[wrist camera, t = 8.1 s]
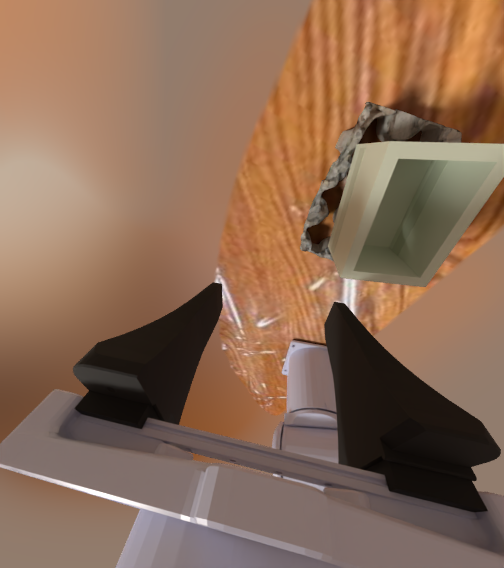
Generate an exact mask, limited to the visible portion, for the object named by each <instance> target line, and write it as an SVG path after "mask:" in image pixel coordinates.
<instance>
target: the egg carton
mask: <svg viewBox="0 0 504 568" xmlns="http://www.w3.org/2000/svg"><path fill="white" fill-rule="evenodd" d="M365 104H366V106H365V108H364V110H363V112H362V113H361V115H360V116H359V118H358V121H357V125H356V126H355V128H353V129H351V130H347V131H343V133H342V134H341V135H340V137H339V140H338V142H337V144H336V147H335V148H336V149H338V150H339V151H340V153H341V154H340V156H339V158H338V159H337V161H336V162H334V163H333V164H332V166H331V168H330V170H329V172H328V174H327V177H326V179H325V180H322V182H321V186H320V189H319V191H318V193H317V195H316V197H315V198H314V200H313V203H312V205H311V208H310V211H309V214H308V217H307V220H306V221H305V224H304V232H303V234H302V236H301V247H300V249H301V250H302V251H309V252H312V253H314V254H316V255H318V256H319V257H323V258H327V259H330V260H332V261H334V260H333V258H332V255H331V253H330V250H329V247H328V244H329V241H330V237H327V238H325V239H323V240H322V241H321V242H320V243H319V244H315V243H312V242H311V238H310V235H309V233H308V231H307V228H308V227H311V226H312V225H317V224H319V223H320V222H321V221H322V220H323V219H324V218H325V217H327V216H328V214H329V210H328V206H327V203H326V201H325V200H324V198H323V197H322V196H321V194H322V193H323V191H324V190H328V189H330V188H333V187H335V186H336V185H337V184H338V182H339V181H341V180H342V179H343V178H344V177H346V173H347V171H348V170H349V169H350V166H351V163H352V153H353V152H354V150H355V149H356V145H357V144H359V142H360V140H361V138H362V136H363V134H364V132H365V130H366V129H367V128H368V126H369V125H370V123H371V122H372V121H373V120H374V119H375V118H377V119H378V121H377V126H376V134H377V137H378V139H379V140H381V141H382V142H387V141H401V142H402V141H406V140H408V139H410V138H412V137H413V136H414V135H416V134H417V133H418V132H419V131H422V135H421V138H420V142H444V143H461V132H459V131H458V130H455V129H452V128H449V127H445V126H443V125H440V124H437V123H434V122H431V121H428V120H424V119H421V118H418V117H416V116H414V115H411V114H408V113H406V112H403V111H400V110H396V109H395V111H394V110H392V109H389V108H386V107H383V106H380V105H376V104H373V103H370V102H366V103H365ZM338 209H339V207H338V208H337V209H336V210H335V212H334V214H333V222H334V223H335V219H336V216H337V212H338Z"/></svg>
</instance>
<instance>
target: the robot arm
mask: <svg viewBox="0 0 504 568" xmlns="http://www.w3.org/2000/svg"><path fill="white" fill-rule="evenodd" d="M222 307H223V304H222V284H219V283H212V284H210V285H209V286H208V287H206V288H205V289H204V290H203V291H201V292H200V293H199V294H198V295H196V296H195V297H193V298H192V299H191V300H189V301H188V302H187V303H185V304H184V305H182V306H181V307H179V308H178V309H176V310H174V311H173V312H171V313H169V314H167V315H166V316H164V317H162V318H160V319H158V320H156V321H154V322H152V323H150V324H147V325H145V326H143V327H141V328H138V329H136V330H133V331H131V332H128V333H126V334H123V335H120V336H117V337H114V338H111V339H108V340H105V341H102V342H98V343H97V344H96V345H95V346H94V347H93V348H92V349H91V350H90V351H89V352H88V353H87V354H86V355H85V356H84V357H83V358H82V359H81V360H80V361H79V362H78V363H77V364H76V365H75V366H74V368H73V372H74V375H75V376H76V377H77V378H78V379H79V381H81V383H82V384H83V385H84V386H85V387H86V388H87V389H88V390H89V392H88V393H87V394H86V395H85V396H84V397H83V396H81V395H78V394H75V393H71V392H67V391H63V390H58V389H56V390H53V391H52V392H51V393H50V394H49V395H48V396H47V397H46V398H45V399H44V400H43V402H41V403H40V404H39V405H38V406H37V407H36V408H35V409H34V410H33V412H31V413H30V414H29V415H28V416H27V417H26V418H25V420H23V421H22V423H20V424H19V425H18V426H17V428H15V429H14V431H12V432H11V433H10V434H9V435H8V437H7V438H6V439H5V440H4V441H3V442H2V443H1V444H0V467H1V468H5V469H8V470H11V471H14V472H18V473H21V474H24V475H27V476H31V477H34V478H37V479H41V480H45V481H48V482H51V483H54V484H58V485H61V486H64V487H68V488H71V489H75V490H78V491H81V492H85V493H88V494H91V495H95V496H98V497H101V498H105V499H108V500H111V501H115V502H118V503H121V504H125V505H128V506H132V507H135V508H138V509H140V511H139V513H138V516H137V518H136V520H135V523H134V525H133V528H132V530H131V532H130V535H129V537H128V539H127V542H126V544H125V547H124V549H123V551H122V554H121V556H120V558H119V561H118V563H117V566H116V568H504V496H502V495H498V494H494V493H489V492H478V491H477V490H476V488H475V486H474V484H473V482H472V481H476V476H475V474H474V472H473V470H472V469H471V467H472V466H476V465H479V464H483V463H486V462H490V461H492V460H495V459H497V458H498V457H499V456H500V454H501V449H500V448H499V447H498V445H497V444H496V442H495V441H494V439H493V438H492V436H491V435H490V434H489V432H488V431H487V429H486V428H485V426H484V425H483V423H482V422H481V421H480V420H478V419H477V418H475V417H474V416H472V415H470V414H469V413H468V412H466V411H464V410H463V409H462V408H460V407H459V406H457V405H456V404H454V403H452V402H451V401H449V400H448V399H447V398H445V397H444V396H442V395H441V394H440V393H438V392H437V391H435V390H434V389H433V388H431V387H430V386H428V385H427V384H426V383H424V382H423V381H422V380H420V379H419V378H418V377H417V376H416V375H414V374H413V373H412V372H411V371H409V370H408V369H407V368H406V367H405V366H403V365H402V364H401V363H400V362H399V361H398V360H397V359H395V358H394V357H393V356H392V355H391V354H390V353H389V352H388V351H387V350H386V349H384V347H383V346H382V345H381V344H380V343H379V342H378V341H377V340H376V339H375V338H374V337H373V336H372V335H371V334H370V333H369V332H368V330H367V329H366V328H365V327H364V326H363V325H362V324H361V322H360V321H359V320H358V319H357V318H356V316H355V315H354V314H353V313H352V312H351V310H350V309H349V308H348V307H347V306H346V305H345V304H344V303H338V302H334V304H333V306H332V308H331V311H330V313H329V315H328V317H327V320H326V322H325V324H324V325H325V340H326V345H327V346H324V345H318V344H313V343H307V342H302V341H296V340H292V341H291V343H290V346H289V350H288V353H287V356H286V359H285V363H284V366H283V369H282V374H284V375H287V413H285V418H284V422H280V423H279V424H278V426H277V428H276V429H275V432H274V436H273V444H272V448H271V447H267V446H263V445H259V444H255V443H251V442H246V441H242V440H238V439H234V438H230V437H226V436H222V435H218V434H213V433H209V432H205V431H201V430H197V429H193V428H188V427H185V426H180V425H179V422H180V419H181V415H182V412H183V409H184V405H185V402H186V399H187V396H188V393H189V390H190V386H191V384H192V381H193V378H194V375H195V372H196V369H197V366H198V364H199V361H200V358H201V355H202V353H203V351H204V348H205V346H206V344H207V342H208V340H209V338H210V336H211V334H212V332H213V330H214V328H215V326H216V324H217V321H218V319H219V316H220V313H221V310H222ZM186 451H187V452H186ZM189 452H191V453H195V454H199V455H203V456H207V457H210V458H215V459H218V460H222V461H226V462H230V463H234V464H238V465H242V466H246V467H250V468H254V469H257V470H261V471H265V472H269V473H273V476H272V475H268V474H264V473H261V472H256V471H253V470H249V469H245V468H241V467H237V466H233V465H228V464H222V463H212V464H211V463H205V462H200V461H194V460H193V455H192V454H191V453H189Z"/></svg>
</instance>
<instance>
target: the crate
mask: <svg viewBox="0 0 504 568" xmlns="http://www.w3.org/2000/svg"><path fill="white" fill-rule="evenodd" d="M503 177H504V144H488V143H444V142H401V141H387V142H377V143H366V144H357V145H356V149H355V152H354V156H353V159H352V163H351V166H350V170H349V173H348V177H347V180H346V184H345V187H344V191H343V195H342V198H341V202H340V205H339V209H338V212H337V216H336V219H335V223H334V226H333V230H332V234H331V237H330V241H329V244H328V247H329V250H330V253H331V255H332V258H333V260H334V263H335V265H336V268H337V271H338V273H339V276H340V278H346V279H355V280H364V281H374V282H383V283H392V284H401V285H410V286H420V287H426V286H427V284H428V283H429V282H430V280H431V279H432V277H433V276H434V275H435V273H436V272H437V270H438V269H439V267H440V266H441V265H442V263H443V262H444V260H445V259H446V258H447V256H448V255H449V253H450V252H451V251H452V249H453V248H454V246H455V245H456V244H457V242H458V241H459V239H460V238H461V236H462V235H463V234H464V232H465V231H466V229H467V228H468V227H469V225H470V224H471V222H472V221H473V220H474V218H475V217H476V215H477V214H478V212H479V211H480V210H481V208H482V207H483V205H484V204H485V203H486V201H487V200H488V198H489V197H490V196H491V194H492V193H493V191H494V190H495V188H496V187H497V186H498V184H499V183H500V181H501V180H502V179H503Z"/></svg>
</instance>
